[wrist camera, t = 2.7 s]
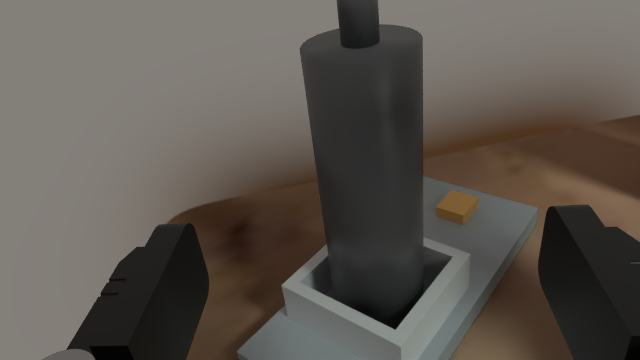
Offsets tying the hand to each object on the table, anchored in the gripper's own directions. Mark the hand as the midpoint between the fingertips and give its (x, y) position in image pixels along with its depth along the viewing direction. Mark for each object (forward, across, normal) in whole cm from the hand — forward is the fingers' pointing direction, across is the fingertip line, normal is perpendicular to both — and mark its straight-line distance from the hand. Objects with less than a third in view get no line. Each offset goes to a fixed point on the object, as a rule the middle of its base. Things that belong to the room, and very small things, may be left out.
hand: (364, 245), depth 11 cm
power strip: (+14, -2, +15) cm, 21 cm away
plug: (+12, 0, +14) cm, 18 cm away
